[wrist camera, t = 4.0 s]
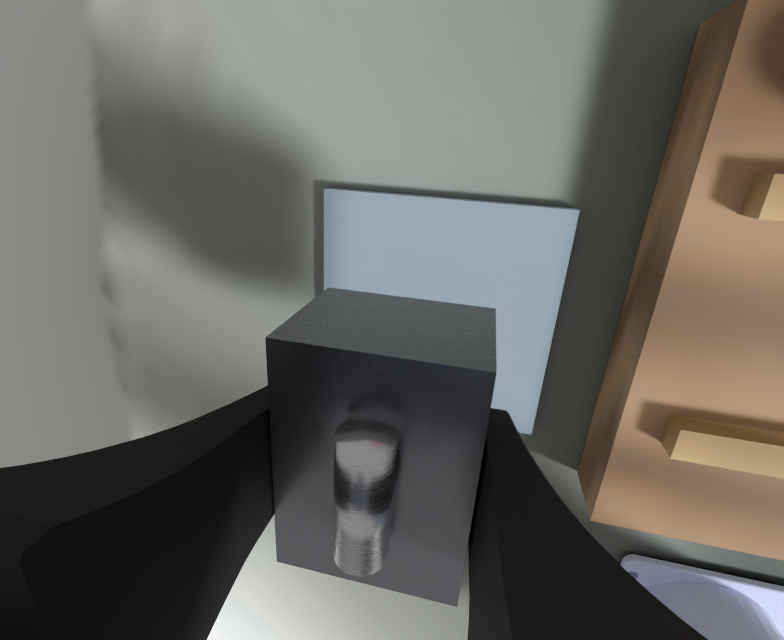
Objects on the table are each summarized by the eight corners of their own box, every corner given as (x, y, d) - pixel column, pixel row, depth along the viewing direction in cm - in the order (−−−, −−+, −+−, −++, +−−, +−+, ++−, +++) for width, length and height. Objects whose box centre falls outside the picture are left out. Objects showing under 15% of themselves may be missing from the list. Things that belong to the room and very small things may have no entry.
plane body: (768, 507, 19) (863, 630, 14) (577, 471, 21) (603, 571, 16) (1006, 27, 12) (1342, -56, 8) (699, 23, 14) (813, -48, 9)
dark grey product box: (465, 496, 13) (453, 653, 9) (327, 467, 14) (256, 599, 10) (495, 308, 11) (496, 402, 7) (328, 287, 12) (238, 359, 7)
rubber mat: (530, 427, 20) (531, 434, 20) (327, 392, 22) (323, 398, 21) (577, 208, 17) (580, 210, 16) (328, 187, 18) (323, 188, 18)
